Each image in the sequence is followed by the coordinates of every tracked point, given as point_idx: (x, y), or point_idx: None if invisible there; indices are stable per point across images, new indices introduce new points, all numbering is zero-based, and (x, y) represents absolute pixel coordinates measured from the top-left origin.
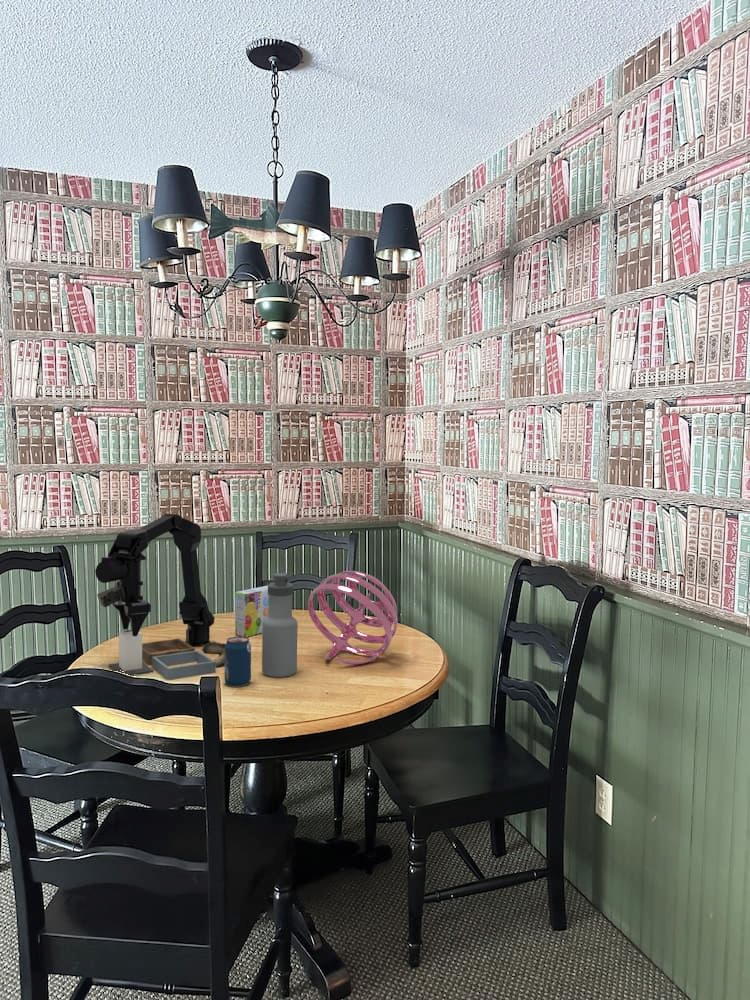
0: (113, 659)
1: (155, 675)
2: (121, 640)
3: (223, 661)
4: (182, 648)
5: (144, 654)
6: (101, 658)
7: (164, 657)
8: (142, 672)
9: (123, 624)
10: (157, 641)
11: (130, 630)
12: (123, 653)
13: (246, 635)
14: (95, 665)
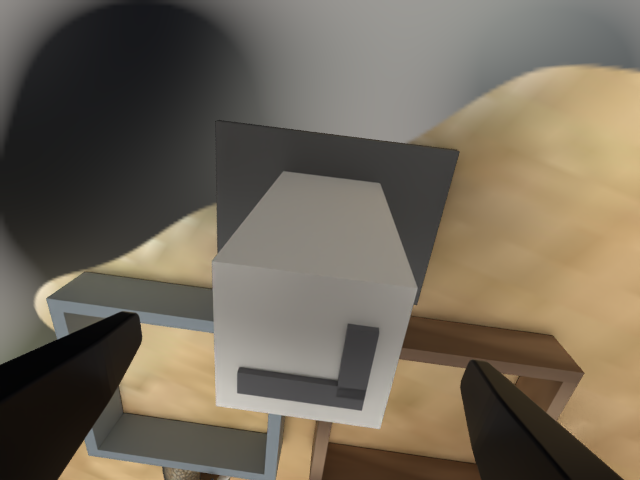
0: (558, 224)
1: (172, 262)
2: (317, 241)
3: (165, 476)
4: (422, 471)
5: (412, 337)
6: (636, 181)
7: None
8: (217, 232)
9: (494, 403)
10: None
11: (353, 378)
12: (273, 200)
13: None
14: (532, 95)
